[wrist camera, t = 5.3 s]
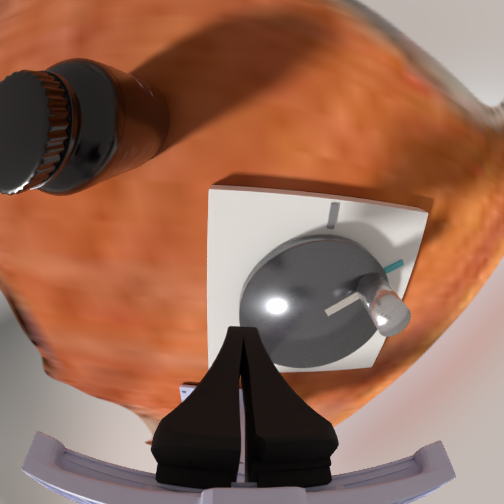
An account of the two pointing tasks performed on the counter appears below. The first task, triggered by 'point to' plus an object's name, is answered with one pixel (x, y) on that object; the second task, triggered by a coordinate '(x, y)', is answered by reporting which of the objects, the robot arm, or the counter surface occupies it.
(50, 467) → the robot arm
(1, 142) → the supplement bottle
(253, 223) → the dial plate
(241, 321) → the dial
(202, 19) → the counter surface
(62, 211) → the counter surface
